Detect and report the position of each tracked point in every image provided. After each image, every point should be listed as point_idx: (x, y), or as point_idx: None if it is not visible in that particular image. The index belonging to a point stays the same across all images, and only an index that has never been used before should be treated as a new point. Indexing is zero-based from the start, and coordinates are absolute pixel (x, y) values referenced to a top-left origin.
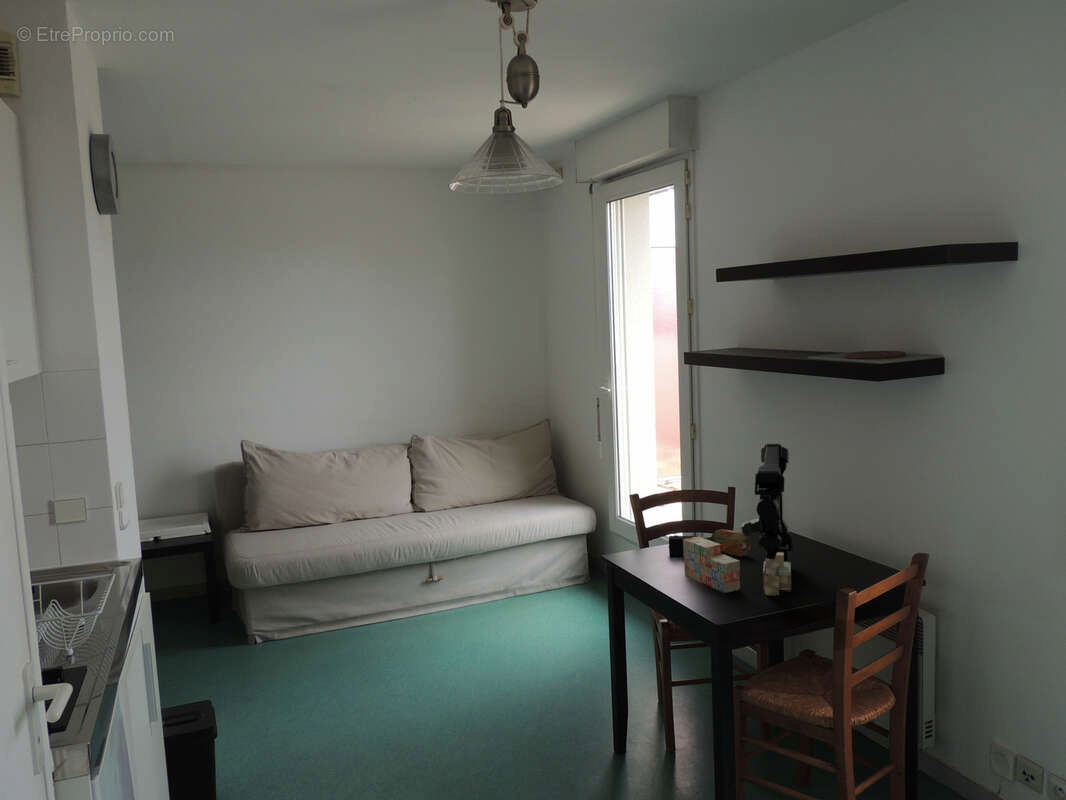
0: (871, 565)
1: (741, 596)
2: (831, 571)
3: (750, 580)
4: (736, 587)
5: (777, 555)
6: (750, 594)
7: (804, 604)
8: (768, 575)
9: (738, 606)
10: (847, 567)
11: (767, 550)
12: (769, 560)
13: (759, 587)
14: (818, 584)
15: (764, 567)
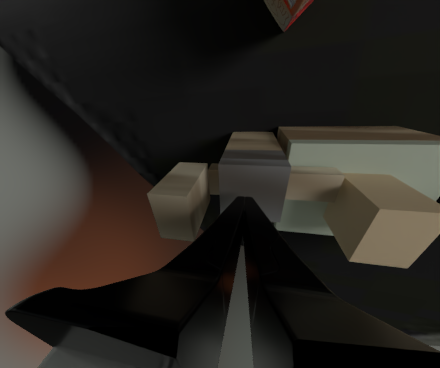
0: (424, 325)
1: (209, 51)
2: (411, 276)
3: (404, 67)
4: (275, 11)
5: (359, 239)
6: (233, 84)
7: None
8: (211, 165)
9: (119, 54)
10: (430, 300)
11: (195, 247)
12: (157, 212)
13: (306, 111)
14: (316, 244)
15: (220, 163)
